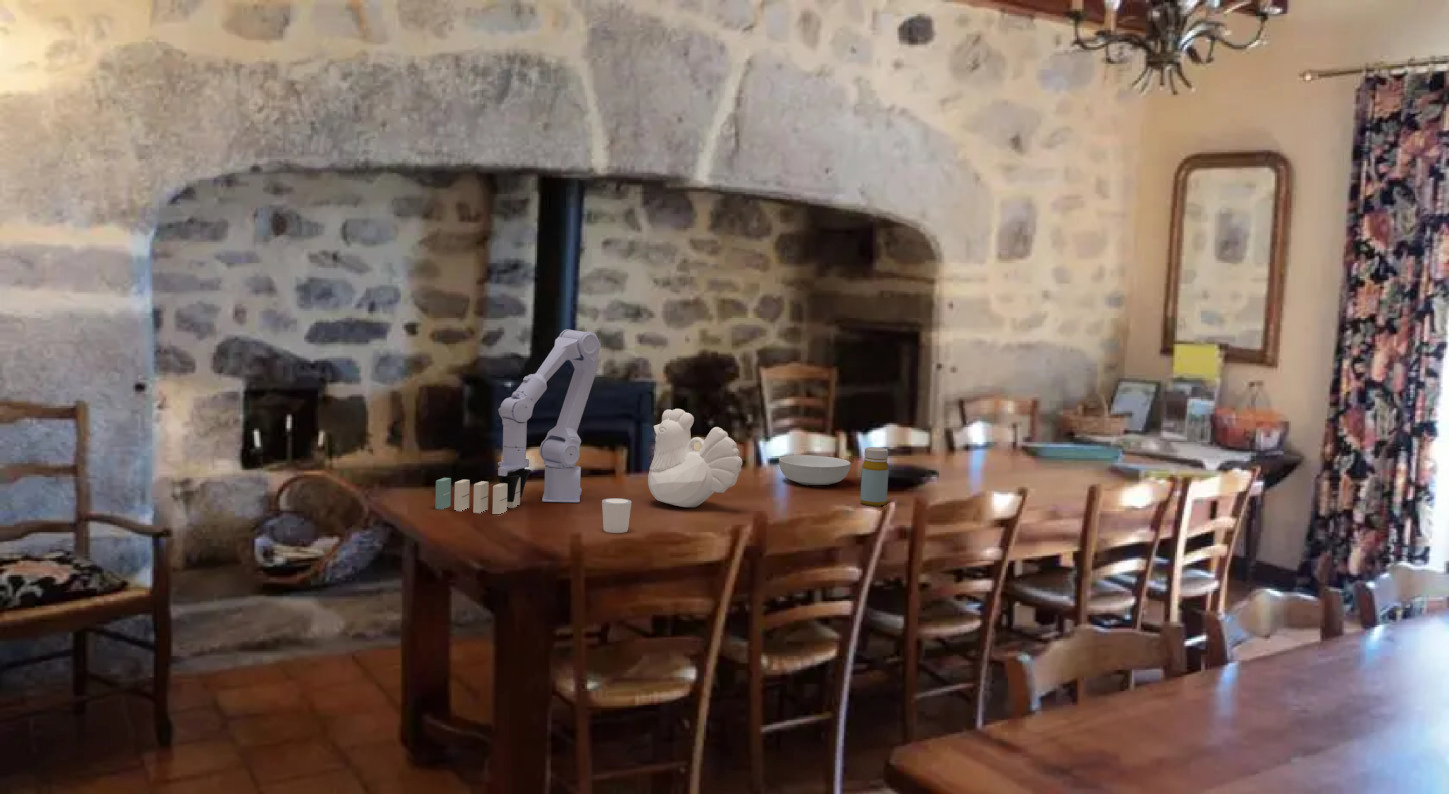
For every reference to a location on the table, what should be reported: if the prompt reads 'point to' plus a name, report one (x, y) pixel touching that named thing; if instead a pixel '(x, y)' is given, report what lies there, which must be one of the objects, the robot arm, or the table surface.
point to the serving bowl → (814, 469)
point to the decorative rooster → (690, 462)
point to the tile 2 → (461, 495)
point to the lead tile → (517, 496)
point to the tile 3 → (480, 497)
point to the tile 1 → (443, 493)
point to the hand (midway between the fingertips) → (513, 499)
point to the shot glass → (616, 514)
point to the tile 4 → (500, 498)
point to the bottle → (874, 477)
